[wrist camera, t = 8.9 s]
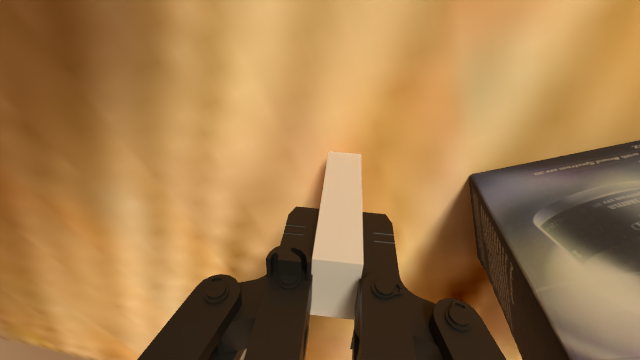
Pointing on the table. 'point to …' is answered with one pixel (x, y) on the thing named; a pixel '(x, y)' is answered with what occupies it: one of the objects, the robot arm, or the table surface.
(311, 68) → the table surface
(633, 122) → the table surface
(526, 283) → the small box
